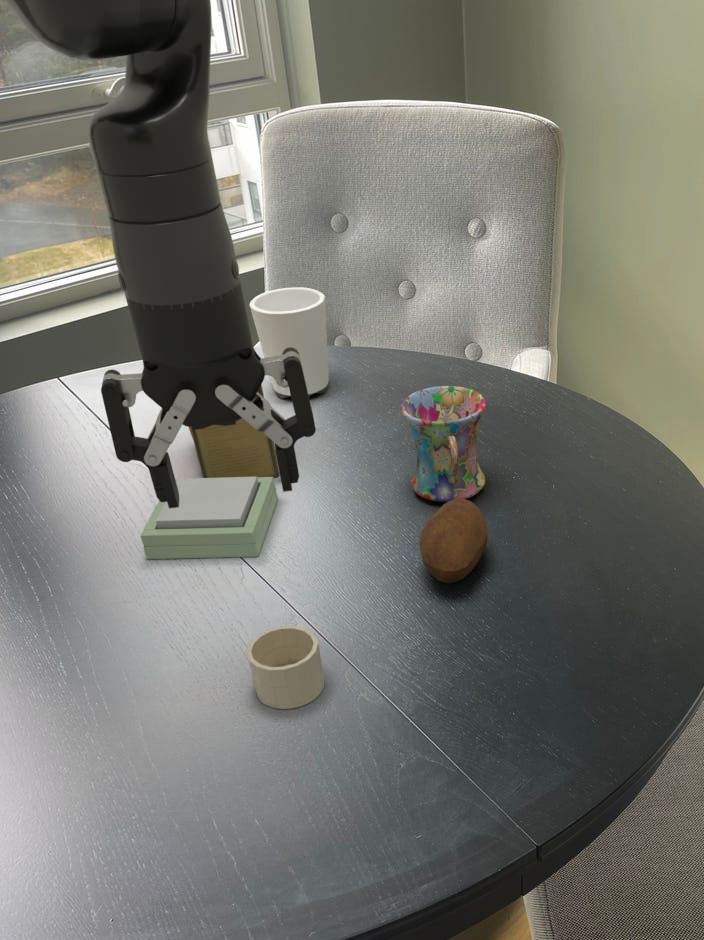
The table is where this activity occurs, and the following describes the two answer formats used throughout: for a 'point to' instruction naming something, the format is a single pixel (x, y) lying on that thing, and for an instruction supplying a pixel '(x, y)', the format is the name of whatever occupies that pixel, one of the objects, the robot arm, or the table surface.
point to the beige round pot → (286, 667)
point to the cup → (294, 332)
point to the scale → (214, 532)
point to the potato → (453, 540)
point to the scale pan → (210, 503)
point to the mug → (445, 441)
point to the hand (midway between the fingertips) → (231, 494)
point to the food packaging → (235, 451)
